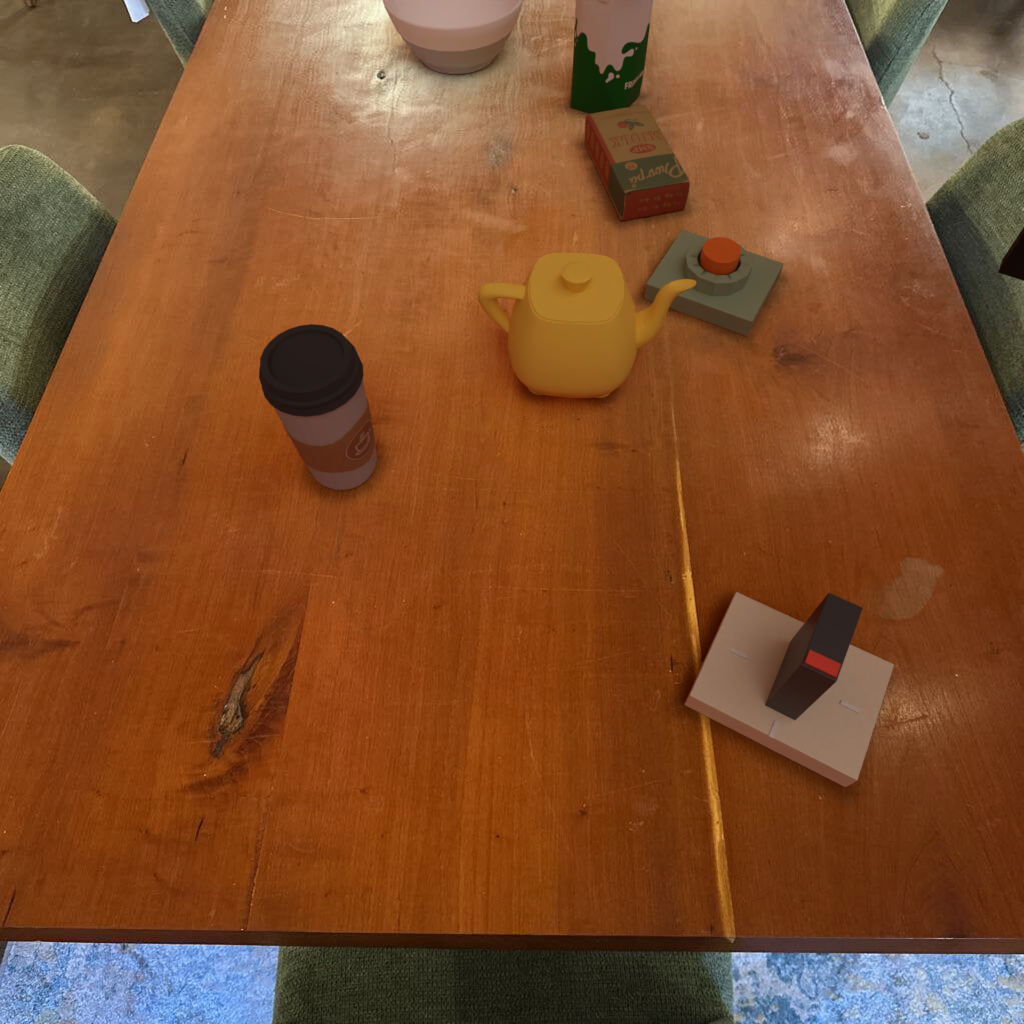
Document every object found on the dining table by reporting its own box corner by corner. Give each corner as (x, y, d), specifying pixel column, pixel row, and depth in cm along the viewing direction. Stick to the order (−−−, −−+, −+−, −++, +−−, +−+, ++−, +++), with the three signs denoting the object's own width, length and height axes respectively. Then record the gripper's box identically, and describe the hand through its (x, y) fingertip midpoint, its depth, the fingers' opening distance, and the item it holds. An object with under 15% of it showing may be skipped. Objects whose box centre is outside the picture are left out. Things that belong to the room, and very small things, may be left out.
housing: (778, 278, 85) (788, 249, 82) (747, 336, 81) (756, 308, 77) (678, 244, 89) (684, 215, 85) (643, 299, 84) (648, 270, 81)
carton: (643, 134, 100) (648, 102, 96) (686, 211, 92) (693, 179, 88) (582, 144, 99) (584, 112, 95) (620, 223, 91) (624, 191, 87)
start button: (742, 257, 82) (746, 244, 80) (729, 280, 80) (733, 267, 79) (707, 245, 83) (711, 232, 81) (693, 268, 81) (696, 254, 80)
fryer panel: (882, 673, 62) (895, 662, 59) (845, 789, 57) (858, 781, 55) (729, 603, 65) (737, 589, 63) (683, 706, 61) (689, 695, 58)
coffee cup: (355, 515, 70) (316, 413, 58) (283, 479, 73) (231, 373, 60) (404, 450, 74) (378, 341, 61) (335, 418, 76) (296, 306, 63)
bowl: (383, 92, 106) (373, 29, 99) (399, 19, 116) (391, -43, 109) (523, 92, 105) (523, 29, 98) (527, 19, 115) (527, -44, 108)
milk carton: (590, 77, 107) (601, -94, 90) (649, 94, 104) (672, -78, 87) (560, 109, 103) (566, -63, 86) (621, 128, 100) (640, -46, 83)
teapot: (676, 421, 75) (701, 330, 65) (475, 410, 76) (467, 319, 66) (673, 322, 82) (694, 226, 72) (489, 313, 83) (483, 217, 73)
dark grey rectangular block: (790, 640, 61) (829, 590, 53) (820, 654, 60) (864, 606, 52) (764, 705, 58) (801, 663, 50) (795, 720, 57) (837, 680, 49)
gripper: (1249, -254, 34) (983, 199, 55) (1228, -149, 29) (940, 315, 49) (1449, -230, 32) (1096, 232, 53) (1470, -111, 27) (1065, 357, 47)
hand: (1021, 272), depth 51 cm, fingers closed
